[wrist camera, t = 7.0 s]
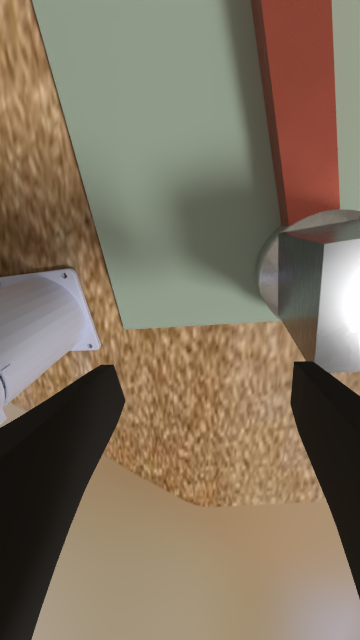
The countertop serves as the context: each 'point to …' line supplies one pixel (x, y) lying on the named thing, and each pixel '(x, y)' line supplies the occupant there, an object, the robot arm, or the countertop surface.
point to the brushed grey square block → (322, 293)
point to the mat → (183, 147)
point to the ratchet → (298, 122)
